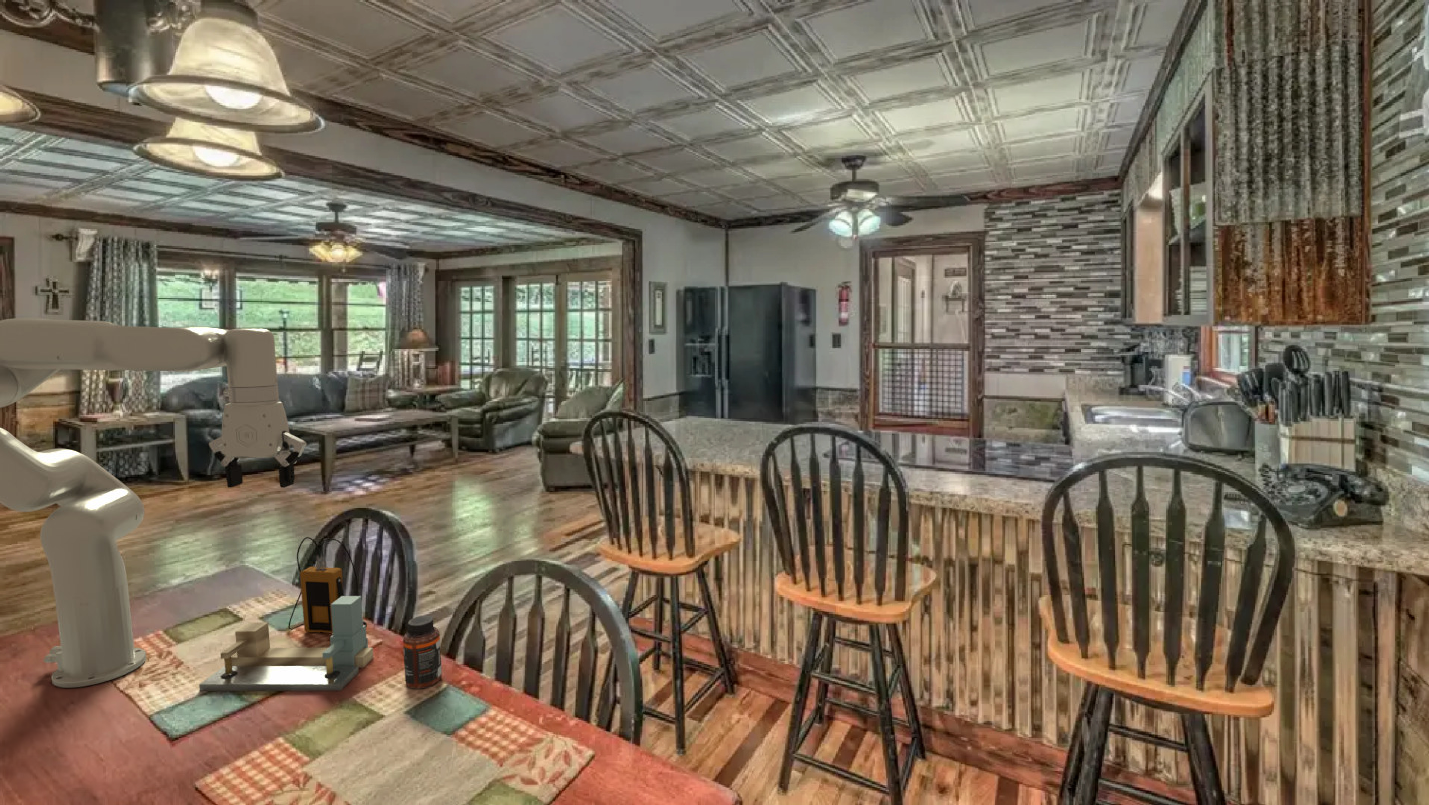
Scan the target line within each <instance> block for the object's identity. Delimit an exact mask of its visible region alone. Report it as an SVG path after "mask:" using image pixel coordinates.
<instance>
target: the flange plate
mask: <svg viewBox="0 0 1429 805" xmlns="http://www.w3.org/2000/svg"><path fill="white" fill-rule="evenodd" d="M232 671H233V672H232V673H230V674H226V673H225V665H224V666H222V667H221V668H220V669H219V670H217V671H216V672H215V673H213V674H212V675H210V676H208V677H207V678H206V679H205V680H203V681H202V682H201V683H199V684H198V687H199V688H198V689H199V692H230V691H231V692H240V691H241V692H247V691H248V692H256V691H258V692H259V691H260V692H266V691H267V692H270V691H272V692H276V691H277V692H284V691H285V692H286V691H287V692H288V691H290V692H292V691H293V692H294V691H295V692H297V691H298V692H299V691H300V692H303V691H306V692H308V691H311V692H313V691H314V692H315V691H317V692H318V691H320V692H321V691H327V692H328V691H331V692H332V691H339V692H340V691H342V690H343V689H344V688H345V687H346V686H347V685H348V684H349V683H350V682H351V680H352V679H354V678H355V677H356V676H357V674H358V673H359V671H360V670H359V667H358V666H333V672H332V673H330V674H327V669H326V666H232ZM205 690H206V691H205ZM208 690H209V691H208Z"/></svg>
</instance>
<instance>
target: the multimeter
mask: <svg viewBox="0 0 1429 805" xmlns="http://www.w3.org/2000/svg"><path fill="white" fill-rule="evenodd" d="M306 539H309V540H311V541H312V542H313V543H314V545H315V547H316V563H315V564H316V566H310V567H307V568H306V569H304V570H301V567H300V562H299V555H300V554H299V553H300V549H301V546H302V544H303V543H304V542H305V540H306ZM327 541H335V542H338V543H339V544H340V545H341V546H342V547H343V549H344V550H345V553H346V554H347V555H348V558H349V560H350V562H351V566H352V570H353V573H354V577H355V583H356V584H355V586H356V589H355V590H356V595H355V596H359V593H358V592H359V589H358V588H359V584H358V578H357V573H356V568H355V566H354V563H353V560H352V558H351V555H350V553H349V551H348V550H347V548H346V547H345V545H344V544H343V543H342V542H341V541H340V540H338V539H336V538H326V539H325V540H323V541H322V542H321V545H320V549H321V550H320V552H321V553H320V554H321V562H320V558H319V557H320V556H319V549H318V548H319V547H318V544H317V542H316V540H314V539H313V538H311V537H309V536H306V537H304V538H303V539H302V541H300V544H299V545H298V548H297V552H296V562H297V567H298V571H299V576H300V589H301V590H300V593H299V595H298V598H297V600H296V603H295V605H294V608H293V610H292V612H291V615H290V618H289V621H288V626H287V627H288V630H289V629H291V628H292V627H291V622H292V618H293V616H294V613H295V610H296V608H297V606H298V603H299V600H300V597H301V604H302V605H301V606H302V614H303V615H302V616H303V623H304V624H303V626H304V627H303V628H304V631H305V632H306V633H308V632H311V633H320V632H324V634H325V633H326V634H332V633H333V628H332V613H331V604H332V603H333V602H335V601H336V600H337V599H339V598H340V597H341V596H345V595H344V594H345V593H344V584H343V582H344V581H343V569H342V568H340V567H326V562H325V561H324V560H325V559H324V558H325V557H324V550H323V549H324V548H323V545H324V544H325V542H327ZM363 624H364V625H366V627H367V626H368V624H367V622H366V621H365V619H363Z"/></svg>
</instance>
